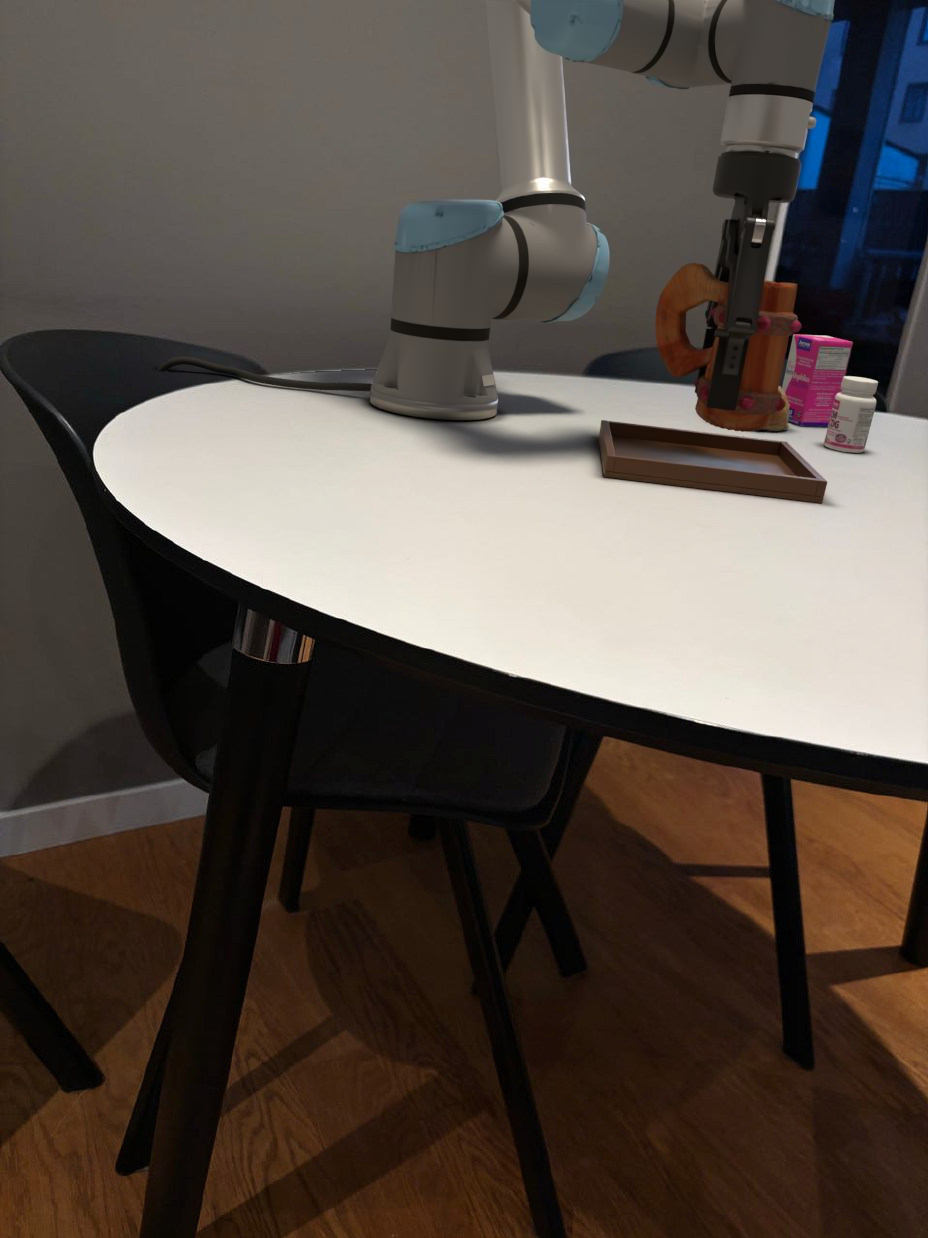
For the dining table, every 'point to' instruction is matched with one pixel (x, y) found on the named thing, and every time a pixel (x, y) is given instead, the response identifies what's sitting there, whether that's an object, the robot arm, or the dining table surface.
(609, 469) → the tray
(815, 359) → the supplement box
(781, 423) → the bread roll
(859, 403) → the pill bottle
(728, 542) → the dining table surface
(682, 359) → the mug
